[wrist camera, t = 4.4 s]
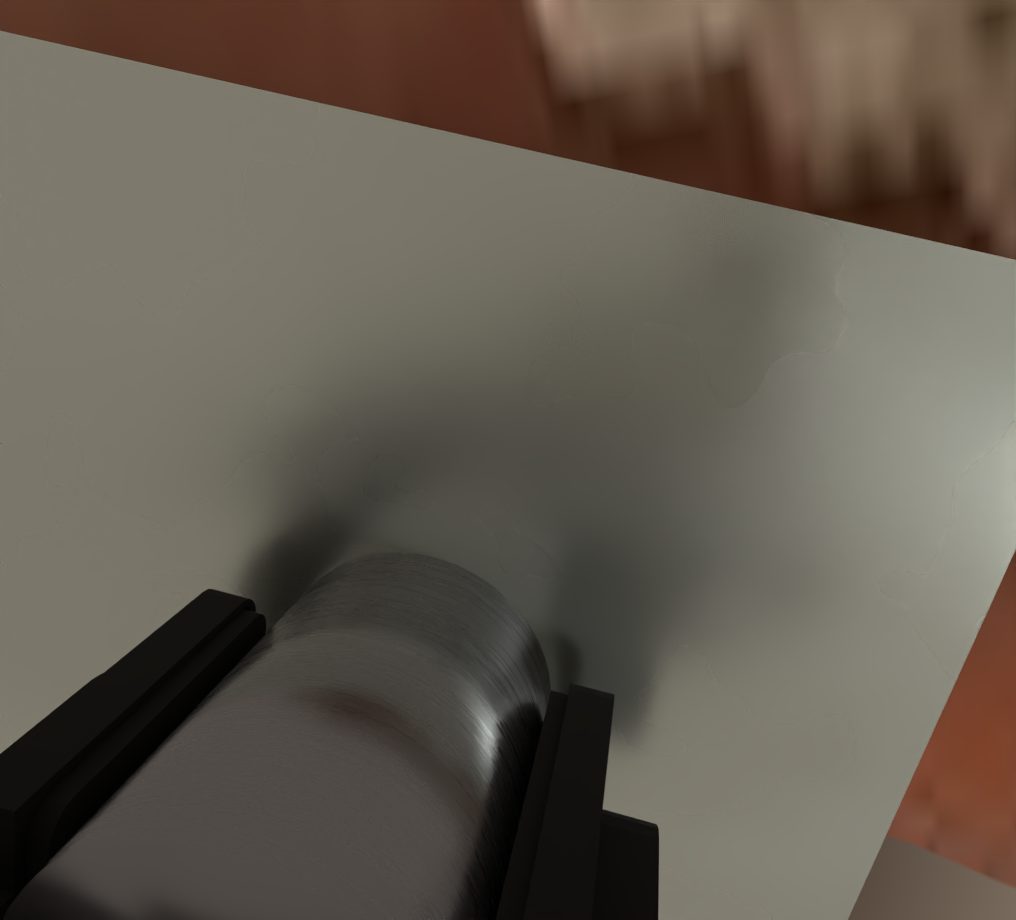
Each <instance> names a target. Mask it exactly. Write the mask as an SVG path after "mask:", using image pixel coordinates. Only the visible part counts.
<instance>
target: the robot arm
mask: <svg viewBox="0 0 1016 920" xmlns="http://www.w3.org/2000/svg"><path fill="white" fill-rule="evenodd" d="M265 633H266V618H265V616H264V615H263V614H260V613H257V612H256V607H255V603H254V601H253V600H252V599H249V598H245V597H241V596H237V595H234V594H230V593H226V592H222V591H218V590H215V589H207V590H205V591H204V592H202V593H201V594H200V595H198V596H197V597H196V598H195V599H194V600H192V601H191V602H190V603H189V604H187V605H186V606H185V607H184V608H183V609H181V610H180V611H179V612H178V613H176V614H175V615H174V616H173V617H172V618H170V619H169V620H168V621H167V622H165V623H164V624H163V625H162V626H160V627H159V628H158V629H157V630H156V631H154V632H153V633H152V634H151V635H149V636H148V637H147V638H146V639H145V640H143V641H142V642H141V643H140V644H138V645H137V646H136V647H135V648H134V649H132V650H131V651H130V652H129V653H127V654H126V655H125V656H124V657H122V658H121V659H120V660H119V661H118V662H116V663H115V664H114V665H113V666H111V667H110V668H109V669H108V670H107V671H105V672H104V673H102V674H100V675H98V676H97V677H95V678H94V679H92V680H91V681H89V682H88V683H87V684H86V685H84V686H83V687H82V688H81V689H79V690H78V691H77V692H76V693H75V694H73V695H72V696H71V697H70V698H68V699H67V700H66V701H65V702H63V703H62V704H61V705H60V706H59V707H57V708H56V709H55V710H54V711H52V712H51V713H50V714H49V715H47V716H46V717H45V718H44V719H42V720H41V721H40V722H39V723H38V724H36V725H35V726H34V727H33V728H31V729H30V730H29V731H28V732H26V733H25V734H24V735H23V736H22V737H20V738H19V739H18V740H17V741H15V742H14V743H13V744H12V745H10V746H9V747H8V748H7V749H5V750H4V751H3V752H2V753H1V754H0V920H2V919H3V917H4V915H5V913H6V911H7V910H8V908H9V906H10V905H11V903H12V902H13V901H14V900H15V898H16V897H17V896H18V894H19V893H20V892H21V890H22V889H23V888H24V887H25V886H26V885H27V884H28V883H29V882H30V881H31V880H32V879H33V878H34V877H35V875H36V874H37V873H38V872H39V871H40V870H41V869H42V868H43V867H44V866H45V865H46V864H47V863H48V862H49V861H50V860H51V859H52V858H53V857H54V856H55V855H56V853H57V852H58V851H59V850H60V849H61V848H62V847H63V846H64V845H65V844H66V843H67V842H68V841H69V840H70V839H71V838H72V837H73V836H74V835H75V834H76V832H77V831H78V830H79V829H80V828H81V827H82V826H83V825H84V824H85V823H86V822H87V821H88V820H89V819H90V818H91V817H92V816H93V815H94V814H95V813H96V812H97V810H98V809H99V808H100V807H101V806H102V805H103V804H104V803H105V802H106V801H107V800H108V799H109V798H110V797H111V796H112V795H113V794H114V793H115V792H116V791H117V789H118V788H119V787H120V786H121V785H122V784H123V783H124V782H125V781H126V780H127V779H128V778H129V777H130V776H131V775H132V774H133V773H134V772H135V771H136V770H137V769H138V767H139V766H140V765H141V764H142V763H143V762H144V761H145V760H146V759H147V758H148V757H149V756H150V755H151V754H152V753H153V752H154V751H155V750H156V749H157V748H158V746H159V745H160V744H161V743H162V742H163V741H164V740H165V739H166V738H167V737H168V736H169V735H170V734H171V733H172V732H173V731H174V730H175V729H176V728H177V727H178V726H179V724H180V723H181V722H182V721H183V720H184V719H185V718H186V717H187V716H188V715H189V714H190V713H191V712H192V711H193V710H194V709H195V708H196V707H197V706H198V705H199V703H200V702H201V701H202V700H203V699H204V698H205V697H206V696H207V695H208V694H209V693H210V692H211V691H212V690H213V689H214V688H215V687H216V686H217V685H218V684H219V683H220V681H221V680H222V679H223V678H224V677H225V676H226V675H227V674H228V673H229V672H230V671H231V670H232V669H233V668H234V667H235V666H236V665H237V664H238V663H239V662H240V660H241V659H242V658H243V657H244V656H245V655H246V654H247V653H248V652H249V651H250V650H251V649H252V648H253V647H254V646H255V645H256V644H257V643H258V642H259V641H260V639H261V638H262V637H263V636H264V635H265ZM614 696H615V695H614V694H611V693H607V692H604V691H600V690H596V689H592V688H588V687H585V686H581V685H577V684H573V683H571V684H570V688H569V692H568V695H567V694H563V693H560V692H556V691H552V690H551V693H550V697H549V701H548V705H547V709H546V713H545V717H544V721H543V726H542V730H541V734H540V738H539V742H538V746H537V750H536V755H535V759H534V763H533V767H532V771H531V775H530V779H529V784H528V788H527V792H526V796H525V800H524V804H523V808H522V812H521V817H520V821H519V825H518V829H517V833H516V837H515V841H514V846H513V850H512V854H511V858H510V862H509V866H508V870H507V875H506V879H505V883H504V887H503V891H502V895H501V899H500V903H499V908H498V912H497V916H496V920H658V904H659V828H658V826H657V824H654V823H651V822H647V821H644V820H640V819H636V818H633V817H629V816H626V815H622V814H619V813H615V812H611V811H608V810H604V809H603V801H604V792H605V782H606V773H607V764H608V754H609V745H610V735H611V726H612V717H613V707H614Z"/></svg>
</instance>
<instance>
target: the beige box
mask: <svg viewBox="0 0 1016 920" xmlns="http://www.w3.org/2000/svg"><path fill="white" fill-rule="evenodd" d="M1015 550H1016V260H1014V259H1009V258H1005V257H1001V256H996V255H992V254H987V253H983V252H978V251H974V250H970V249H965V248H961V247H956V246H952V245H947V244H943V243H939V242H934V241H930V240H925V239H921V238H916V237H912V236H907V235H903V234H899V233H894V232H890V231H885V230H881V229H876V228H872V227H868V226H863V225H859V224H854V223H850V222H845V221H841V220H837V219H832V218H828V217H823V216H819V215H814V214H810V213H806V212H801V211H797V210H792V209H788V208H783V207H779V206H775V205H770V204H766V203H761V202H757V201H752V200H748V199H744V198H739V197H735V196H730V195H726V194H721V193H717V192H713V191H708V190H704V189H699V188H695V187H690V186H686V185H681V184H677V183H673V182H668V181H664V180H659V179H655V178H650V177H646V176H642V175H637V174H633V173H628V172H624V171H619V170H615V169H611V168H606V167H602V166H597V165H593V164H588V163H584V162H580V161H575V160H571V159H566V158H562V157H557V156H553V155H549V154H544V153H540V152H535V151H531V150H526V149H522V148H518V147H513V146H509V145H504V144H500V143H495V142H491V141H487V140H482V139H478V138H473V137H469V136H464V135H460V134H456V133H451V132H447V131H442V130H438V129H433V128H429V127H424V126H420V125H416V124H411V123H407V122H402V121H398V120H393V119H389V118H385V117H380V116H376V115H371V114H367V113H362V112H358V111H354V110H349V109H345V108H340V107H336V106H331V105H327V104H323V103H318V102H314V101H309V100H305V99H300V98H296V97H292V96H287V95H283V94H278V93H274V92H269V91H265V90H261V89H256V88H252V87H247V86H243V85H238V84H234V83H230V82H225V81H221V80H216V79H212V78H207V77H203V76H199V75H194V74H190V73H185V72H181V71H176V70H172V69H167V68H163V67H159V66H154V65H150V64H145V63H141V62H136V61H132V60H128V59H123V58H119V57H114V56H110V55H105V54H101V53H97V52H92V51H88V50H83V49H79V48H74V47H70V46H66V45H61V44H57V43H52V42H48V41H43V40H39V39H35V38H30V37H26V36H21V35H17V34H12V33H8V32H4V31H0V754H1V753H2V752H3V751H4V750H5V749H7V748H8V747H9V746H10V745H12V744H13V743H14V742H15V741H17V740H18V739H19V738H20V737H22V736H23V735H24V734H25V733H26V732H28V731H29V730H30V729H31V728H33V727H34V726H35V725H36V724H38V723H39V722H40V721H41V720H42V719H44V718H45V717H46V716H47V715H49V714H50V713H51V712H52V711H54V710H55V709H56V708H57V707H59V706H60V705H61V704H62V703H63V702H65V701H66V700H67V699H68V698H70V697H71V696H72V695H73V694H75V693H76V692H77V691H78V690H79V689H81V688H82V687H83V686H84V685H86V684H87V683H88V682H89V681H91V680H92V679H94V678H95V677H97V676H98V675H100V674H102V673H104V672H105V671H107V670H108V669H109V668H110V667H111V666H113V665H114V664H115V663H116V662H118V661H119V660H120V659H121V658H122V657H124V656H125V655H126V654H127V653H129V652H130V651H131V650H132V649H134V648H135V647H136V646H137V645H138V644H140V643H141V642H142V641H143V640H145V639H146V638H147V637H148V636H149V635H151V634H152V633H153V632H154V631H156V630H157V629H158V628H159V627H160V626H162V625H163V624H164V623H165V622H167V621H168V620H169V619H170V618H172V617H173V616H174V615H175V614H176V613H178V612H179V611H180V610H181V609H183V608H184V607H185V606H186V605H187V604H189V603H190V602H191V601H192V600H194V599H195V598H196V597H197V596H198V595H200V594H201V593H202V592H204V591H205V590H207V589H215V590H218V591H222V592H226V593H230V594H234V595H237V596H241V597H245V598H249V599H252V600H253V601H254V603H255V607H256V612H257V613H260V614H263V615H264V616H265V618H266V633H265V635H264V636H263V637H262V638H261V639H260V641H259V642H258V643H257V644H256V645H255V646H254V647H253V648H252V649H251V650H250V651H249V652H248V653H247V654H246V655H245V656H244V657H243V658H242V659H241V660H240V662H239V663H238V664H237V665H236V666H235V667H234V668H233V669H232V670H231V671H230V672H229V673H228V674H227V675H226V676H225V677H224V678H223V679H222V680H221V681H220V683H219V684H218V685H217V686H216V687H215V688H214V689H213V690H212V691H211V692H210V693H209V694H208V695H207V696H206V697H205V698H204V699H203V700H202V701H201V702H200V703H199V705H198V706H197V707H196V708H195V709H194V710H193V711H192V712H191V713H190V714H189V715H188V716H187V717H186V718H185V719H184V720H183V721H182V722H181V723H180V724H179V726H178V727H177V728H176V729H175V730H174V731H173V732H172V733H171V734H170V735H169V736H168V737H167V738H166V739H165V740H164V741H163V742H162V743H161V744H160V745H159V746H158V748H157V749H156V750H155V751H154V752H153V753H152V754H151V755H150V756H149V757H148V758H147V759H146V760H145V761H144V762H143V763H142V764H141V765H140V766H139V767H138V769H137V770H136V771H135V772H134V773H133V774H132V775H131V776H130V777H129V778H128V779H127V780H126V781H125V782H124V783H123V784H122V785H121V786H120V787H119V788H118V789H117V791H116V792H115V793H114V794H113V795H112V796H111V797H110V798H109V799H108V800H107V801H106V802H105V803H104V804H103V805H102V806H101V807H100V808H99V809H98V810H97V812H96V813H95V814H94V815H93V816H92V817H91V818H90V819H89V820H88V821H87V822H86V823H85V824H84V825H83V826H82V827H81V828H80V829H79V830H78V831H77V832H76V834H75V835H74V836H73V837H72V838H71V839H70V840H69V841H68V842H67V843H66V844H65V845H64V846H63V847H62V848H61V849H60V850H59V851H58V852H57V853H56V855H55V856H54V857H53V858H52V859H51V860H50V861H49V862H48V863H47V864H46V865H45V866H44V867H43V868H42V869H41V870H40V871H39V872H38V873H37V874H36V875H35V877H34V878H33V879H32V880H31V881H30V882H29V883H28V884H27V885H26V886H25V887H24V888H23V889H22V890H21V892H20V893H19V894H18V896H17V897H16V898H15V900H14V901H13V902H12V903H11V905H10V906H9V908H8V910H7V911H6V913H5V915H4V917H3V919H2V920H496V916H497V912H498V908H499V903H500V899H501V895H502V891H503V887H504V883H505V879H506V875H507V870H508V866H509V862H510V858H511V854H512V850H513V846H514V841H515V837H516V833H517V829H518V825H519V821H520V817H521V812H522V808H523V804H524V800H525V796H526V792H527V788H528V784H529V779H530V775H531V771H532V767H533V763H534V759H535V755H536V750H537V746H538V742H539V738H540V734H541V730H542V726H543V721H544V717H545V713H546V709H547V705H548V701H549V697H550V693H551V690H552V691H556V692H560V693H563V694H567V695H568V692H569V688H570V684H571V683H573V684H577V685H581V686H585V687H588V688H592V689H596V690H600V691H604V692H607V693H611V694H614V695H615V696H614V707H613V717H612V726H611V735H610V745H609V754H608V764H607V773H606V782H605V792H604V801H603V809H604V810H608V811H611V812H615V813H619V814H622V815H626V816H629V817H633V818H636V819H640V820H644V821H647V822H651V823H654V824H657V826H658V828H659V904H658V920H848V918H849V915H850V913H851V911H852V909H853V907H854V904H855V902H856V900H857V898H858V895H859V893H860V891H861V889H862V887H863V885H864V882H865V880H866V878H867V876H868V873H869V871H870V869H871V867H872V865H873V862H874V860H875V858H876V856H877V854H878V851H879V849H880V847H881V845H882V843H883V841H884V838H885V836H886V834H887V832H888V830H889V827H890V825H891V823H892V821H893V819H894V816H895V814H896V812H897V810H898V808H899V805H900V803H901V801H902V799H903V797H904V794H905V792H906V790H907V788H908V785H909V783H910V781H911V779H912V777H913V774H914V772H915V770H916V768H917V766H918V763H919V761H920V759H921V757H922V755H923V752H924V750H925V748H926V746H927V744H928V741H929V739H930V737H931V735H932V733H933V730H934V728H935V726H936V724H937V722H938V719H939V717H940V715H941V713H942V711H943V708H944V706H945V704H946V702H947V700H948V697H949V695H950V693H951V691H952V689H953V686H954V684H955V682H956V680H957V678H958V675H959V673H960V671H961V669H962V666H963V664H964V662H965V660H966V658H967V655H968V653H969V651H970V649H971V647H972V644H973V642H974V640H975V638H976V636H977V633H978V631H979V629H980V627H981V625H982V622H983V620H984V618H985V616H986V614H987V611H988V609H989V607H990V605H991V603H992V600H993V598H994V596H995V594H996V592H997V589H998V587H999V585H1000V583H1001V581H1002V578H1003V576H1004V574H1005V572H1006V570H1007V567H1008V565H1009V563H1010V561H1011V559H1012V556H1013V554H1014V552H1015Z"/></svg>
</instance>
